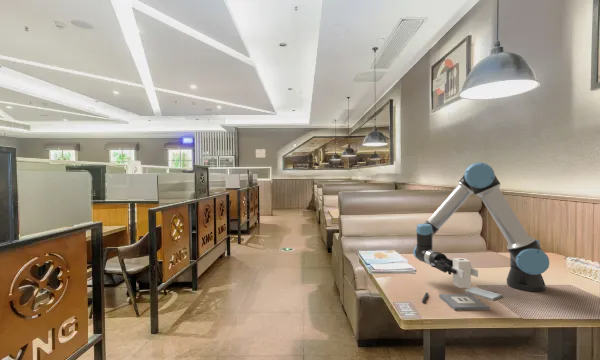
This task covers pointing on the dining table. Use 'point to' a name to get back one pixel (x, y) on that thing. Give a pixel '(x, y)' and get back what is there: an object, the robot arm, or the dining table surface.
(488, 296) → the hard drive
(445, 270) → the robot arm
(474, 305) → the plate
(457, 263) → the charger brick
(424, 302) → the dark grey rod
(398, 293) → the dining table surface
